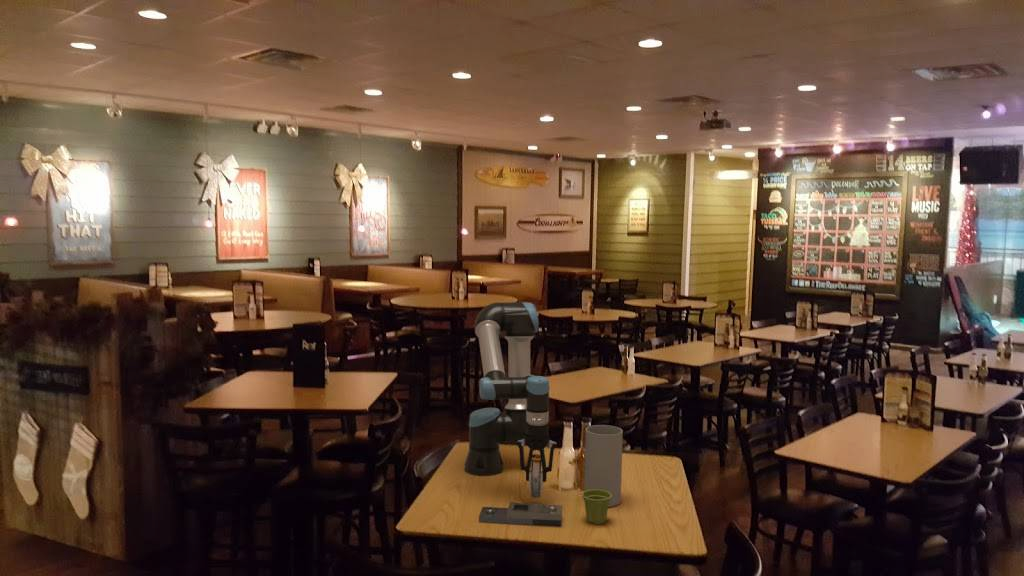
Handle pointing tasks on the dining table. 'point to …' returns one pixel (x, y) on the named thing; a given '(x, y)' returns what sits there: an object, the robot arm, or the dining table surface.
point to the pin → (535, 476)
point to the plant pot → (596, 505)
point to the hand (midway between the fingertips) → (535, 490)
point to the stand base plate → (523, 514)
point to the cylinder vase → (604, 460)
